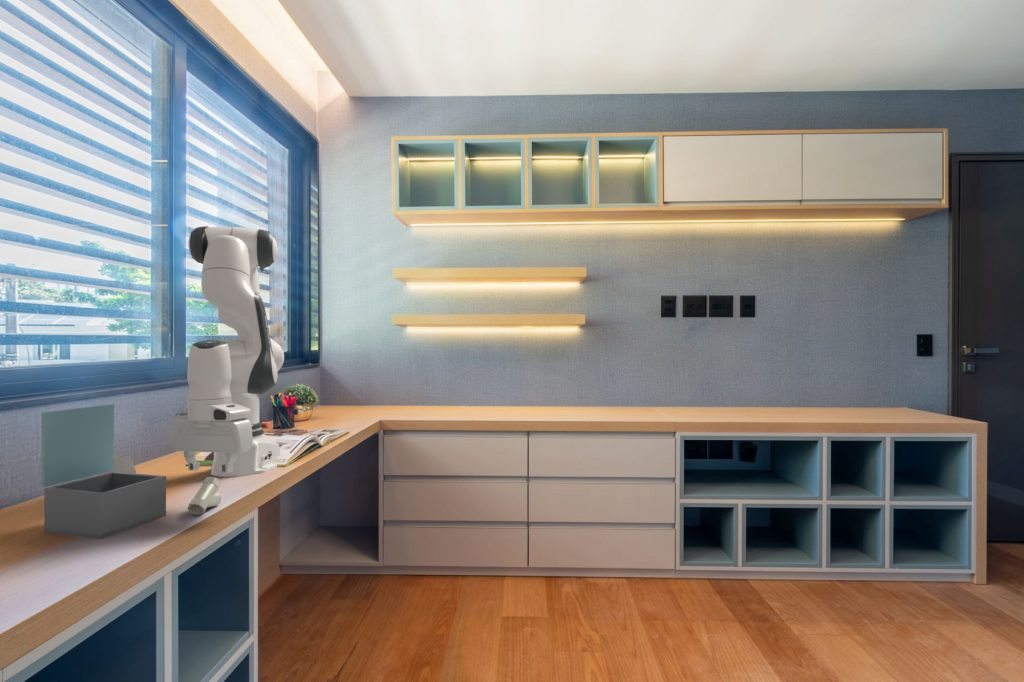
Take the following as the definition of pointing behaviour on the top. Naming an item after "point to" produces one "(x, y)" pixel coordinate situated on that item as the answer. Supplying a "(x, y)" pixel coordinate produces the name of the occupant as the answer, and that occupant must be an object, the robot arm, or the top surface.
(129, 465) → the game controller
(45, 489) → the box
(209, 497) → the pipe fitting
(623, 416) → the top surface
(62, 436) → the lid
